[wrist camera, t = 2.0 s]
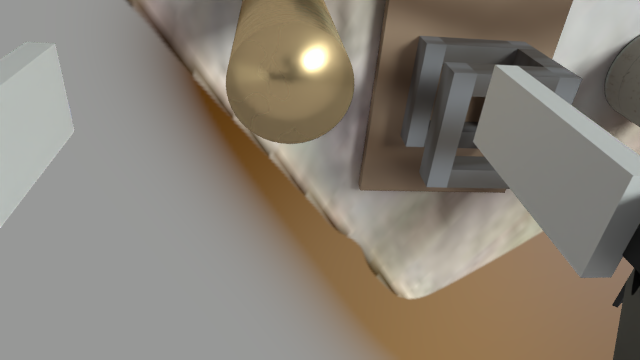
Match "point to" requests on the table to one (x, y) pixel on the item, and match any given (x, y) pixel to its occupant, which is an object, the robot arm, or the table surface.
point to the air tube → (288, 70)
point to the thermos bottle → (625, 82)
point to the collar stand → (451, 87)
